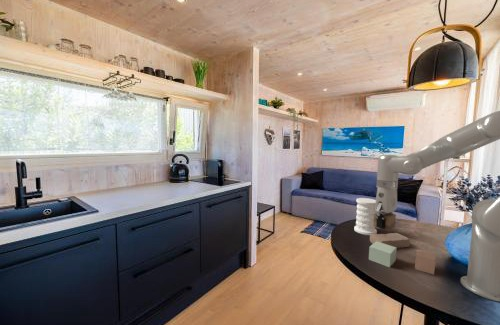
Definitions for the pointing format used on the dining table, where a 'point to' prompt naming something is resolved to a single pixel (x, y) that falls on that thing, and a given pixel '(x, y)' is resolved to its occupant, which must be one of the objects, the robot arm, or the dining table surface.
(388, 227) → the walnut cube
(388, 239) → the brick
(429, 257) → the terracotta cube
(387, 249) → the base block
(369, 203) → the decorative container
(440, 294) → the dining table surface
